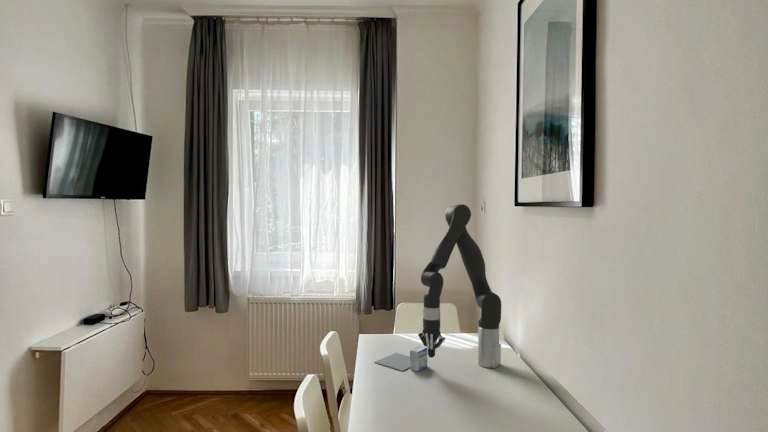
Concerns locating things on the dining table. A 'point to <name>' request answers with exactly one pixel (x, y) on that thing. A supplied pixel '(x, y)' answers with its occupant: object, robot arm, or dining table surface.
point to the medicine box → (418, 358)
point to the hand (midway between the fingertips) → (431, 356)
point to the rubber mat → (396, 362)
